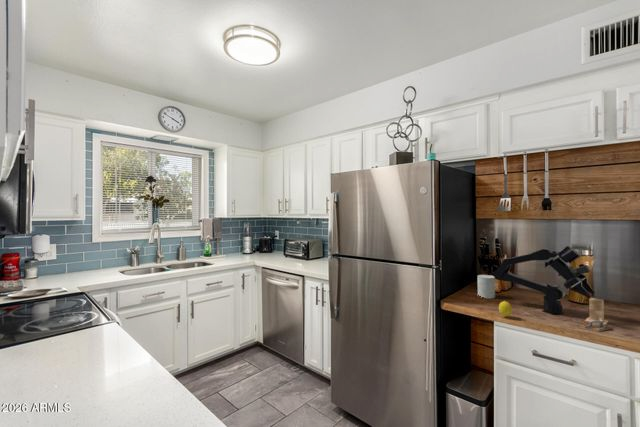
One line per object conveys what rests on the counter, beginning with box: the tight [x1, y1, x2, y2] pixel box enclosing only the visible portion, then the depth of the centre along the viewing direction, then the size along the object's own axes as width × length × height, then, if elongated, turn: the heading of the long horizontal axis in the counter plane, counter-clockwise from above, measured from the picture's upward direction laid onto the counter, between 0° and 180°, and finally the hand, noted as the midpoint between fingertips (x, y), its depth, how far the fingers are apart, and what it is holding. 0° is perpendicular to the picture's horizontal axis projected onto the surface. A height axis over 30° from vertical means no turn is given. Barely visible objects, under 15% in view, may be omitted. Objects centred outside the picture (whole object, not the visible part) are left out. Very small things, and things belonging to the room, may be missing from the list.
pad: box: [584, 316, 609, 325], centre depth 140 cm, size 7×7×1 cm
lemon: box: [498, 300, 513, 318], centre depth 147 cm, size 6×6×8 cm
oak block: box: [588, 297, 605, 322], centre depth 140 cm, size 4×4×10 cm
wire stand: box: [584, 317, 612, 332], centre depth 132 cm, size 5×10×4 cm, turn 112°
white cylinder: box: [477, 274, 496, 299], centre depth 184 cm, size 10×10×12 cm
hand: (592, 295), depth 141 cm, fingers open, 9 cm apart
